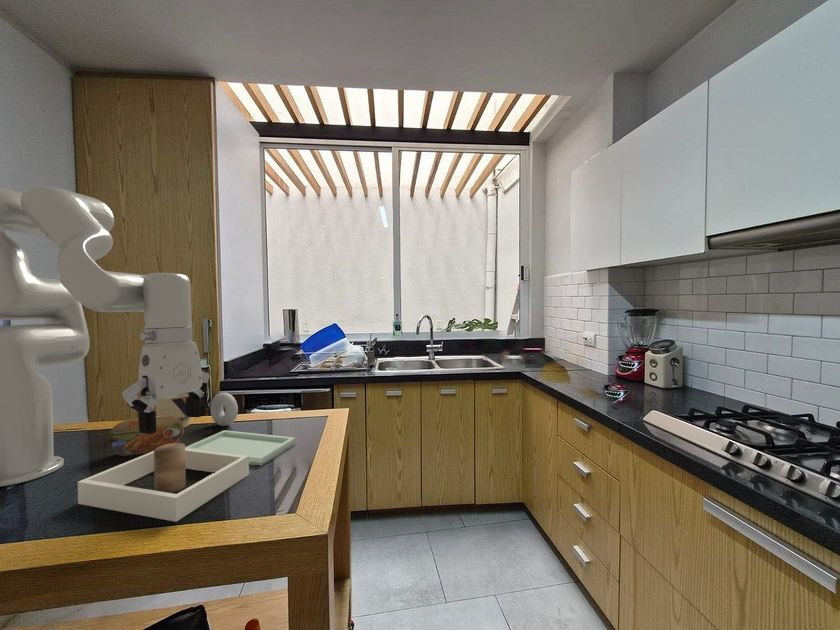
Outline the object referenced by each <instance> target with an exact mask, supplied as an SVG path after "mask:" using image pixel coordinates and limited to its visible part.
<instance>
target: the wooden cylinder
mask: <svg viewBox="0 0 840 630" xmlns="http://www.w3.org/2000/svg"><path fill="white" fill-rule="evenodd" d="M185 447H186V444H185V443H182V442H178V443H172V444H167V445H163V446H160V447H158V448H156V449H155V450H154V471H153V473H154V474H153V475H154V477H153V479H154V481H153V483H154V491H160V492H167V493H173V494H175V493H178V492H180V491H182V489H183V490H184V488H185V487H186V482H187V481H186V480H187V479H186V478H187V477H186V472H187V471H186V469H185Z"/></svg>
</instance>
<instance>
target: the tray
mask: <svg viewBox="0 0 840 630" xmlns="http://www.w3.org/2000/svg"><path fill="white" fill-rule="evenodd" d="M295 445H296V437H293V436H285V435H284V436H282V435H275V434H274V435H273V434H264V433H256V432H255V433H254V432H244V431H236V430H235V431H233V430H228V429H227V430H222V431H219V432H217V433H214V434H213V435H210V436H208V437H205V438H203V439H201V440H199V441H196V442H194V443H191V444H190V445H187V446H185V448H187V449H195V450H204V451H212V452H220V453H228V454H237V455H245V456H249V464H250V465H249V466H255V465H260V466H259V467H263V466H264V465H263V464H265V463H266V464H267V462H268V461H269V462H271V461H272V460H273V458H274V459H275V458H276V457H278V456H280V455H281V454H283V453H284V451H285V452H286V451H287V449H288V450H289V449H290V448H292V447H294V446H295ZM271 459H272V460H271ZM270 460H271V461H270ZM269 462H268V463H269ZM266 464H265V465H266ZM262 465H263V466H262Z"/></svg>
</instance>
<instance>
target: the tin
mask: <svg viewBox="0 0 840 630" xmlns="http://www.w3.org/2000/svg"><path fill="white" fill-rule="evenodd" d="M184 428H185V427H183V424H182V422H181V421H180V420H179V419H178V418H176V417H174V416H170V415H165V416H157V415H156V432H155V433H153V434H145V433H140V432H139V422H138V418H131V419H126V420H124V421H121V422H119V423H117V424H116V425H114V426H113V427H112V428H111V429H110V430H109V432H108V435H107V438H106V443H107V447H108V449H109V450H110V451H111V452H112V453H114V454H115V455H118V456H121V457H122V456H123V457H127V456H128V455H129V456H135V455H142V454H143V455H144V454H147V453H150V452H152V451H154V450H155V449H156V448H158V447H160V446H163V445H167V444H172V443H180V441H181V439H182V437H183V435H184V431H185V429H184Z"/></svg>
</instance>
